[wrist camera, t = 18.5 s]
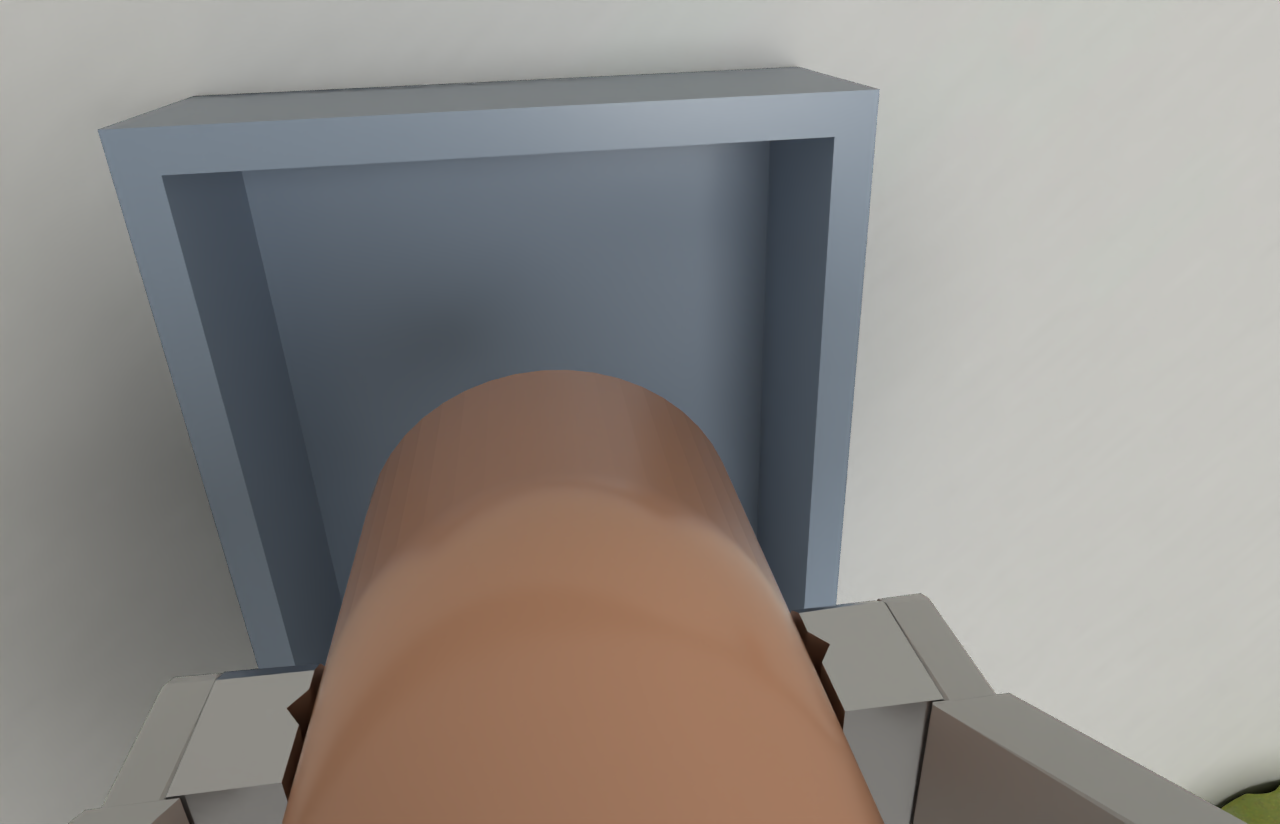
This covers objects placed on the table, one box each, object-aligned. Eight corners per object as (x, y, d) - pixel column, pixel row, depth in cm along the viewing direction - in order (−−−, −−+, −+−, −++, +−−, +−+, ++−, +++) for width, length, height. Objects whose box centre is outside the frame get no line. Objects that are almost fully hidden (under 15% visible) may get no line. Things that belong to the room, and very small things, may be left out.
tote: (772, 647, 28) (822, 770, 24) (343, 699, 27) (310, 841, 22) (798, 66, 20) (879, 89, 16) (193, 95, 19) (97, 129, 15)
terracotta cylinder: (739, 354, 11) (1035, 830, 5) (731, 657, 13) (927, 1251, 7) (334, 386, 11) (76, 968, 4) (397, 697, 13) (289, 1378, 6)
